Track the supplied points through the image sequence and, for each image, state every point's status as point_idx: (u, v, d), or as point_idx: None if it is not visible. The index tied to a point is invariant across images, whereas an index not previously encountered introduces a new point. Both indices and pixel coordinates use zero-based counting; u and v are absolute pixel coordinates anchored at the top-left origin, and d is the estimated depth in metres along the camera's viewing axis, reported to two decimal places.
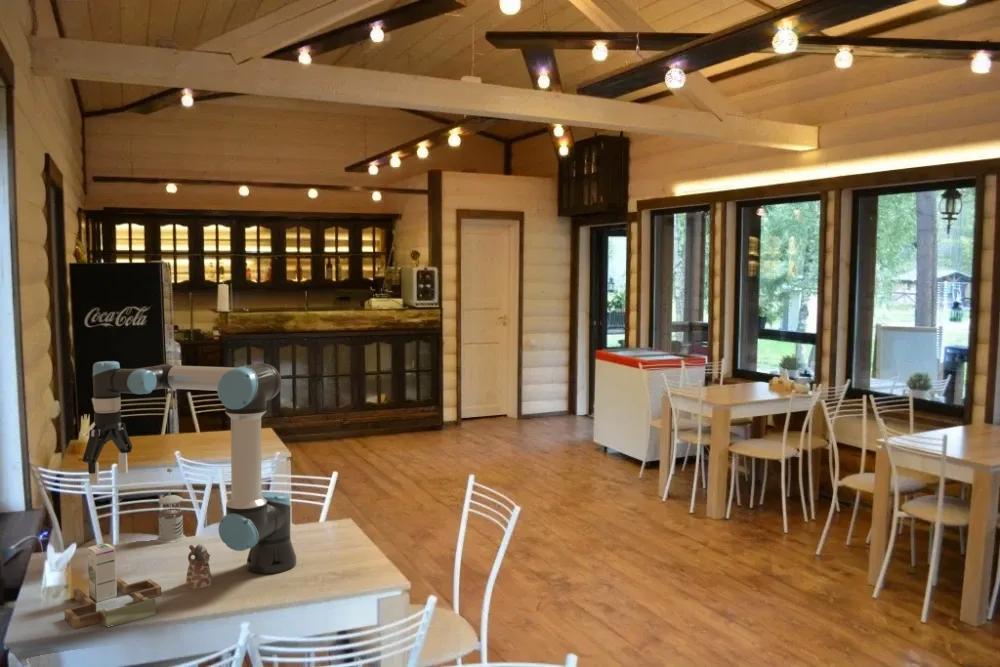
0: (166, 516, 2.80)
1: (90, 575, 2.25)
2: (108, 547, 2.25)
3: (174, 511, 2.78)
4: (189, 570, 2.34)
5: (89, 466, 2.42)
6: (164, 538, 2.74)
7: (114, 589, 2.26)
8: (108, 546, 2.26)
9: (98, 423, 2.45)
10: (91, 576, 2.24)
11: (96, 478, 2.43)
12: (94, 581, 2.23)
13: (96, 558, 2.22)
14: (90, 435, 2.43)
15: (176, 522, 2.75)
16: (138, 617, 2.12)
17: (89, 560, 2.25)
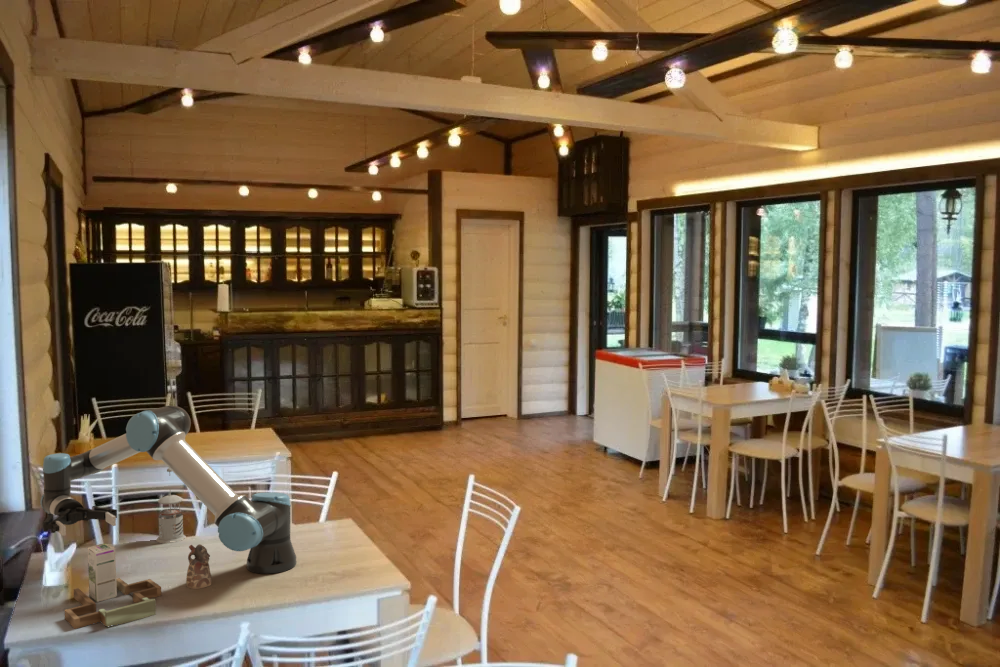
0: (166, 516, 2.80)
1: (90, 575, 2.25)
2: (108, 547, 2.25)
3: (174, 511, 2.78)
4: (189, 570, 2.34)
5: (52, 528, 2.30)
6: (164, 538, 2.74)
7: (114, 589, 2.26)
8: (108, 546, 2.26)
9: None
10: (91, 576, 2.24)
11: (61, 526, 2.28)
12: (94, 581, 2.23)
13: (96, 558, 2.22)
14: None
15: (176, 522, 2.75)
16: (138, 617, 2.12)
17: (89, 560, 2.25)
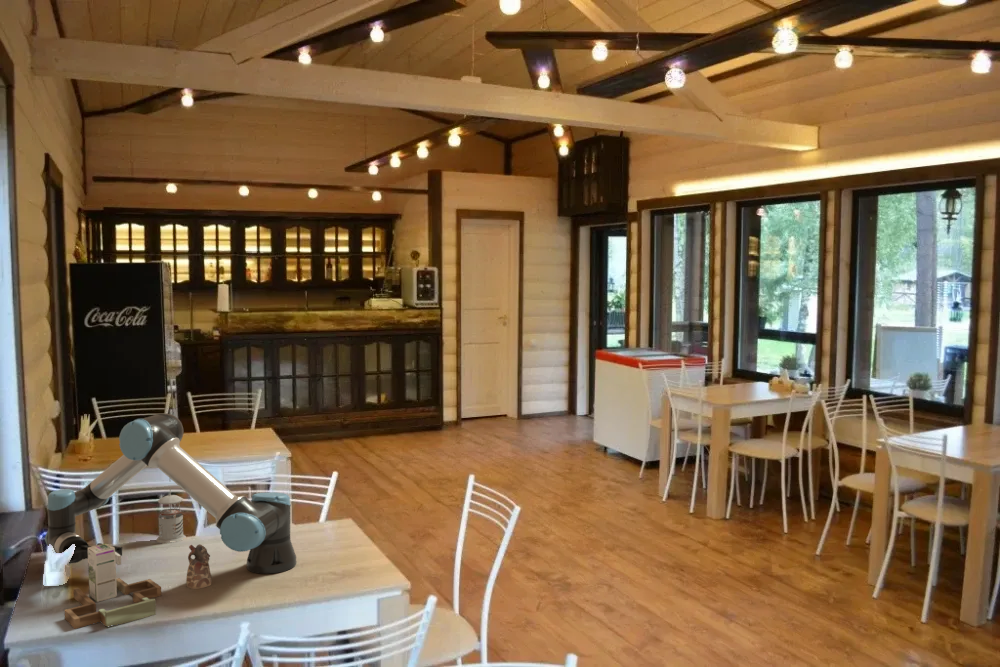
0: (166, 516, 2.80)
1: (90, 575, 2.25)
2: (108, 547, 2.25)
3: (174, 511, 2.78)
4: (189, 570, 2.34)
5: None
6: (164, 538, 2.74)
7: (114, 589, 2.26)
8: (108, 546, 2.26)
9: None
10: (91, 576, 2.24)
11: (65, 566, 2.25)
12: (94, 581, 2.23)
13: (96, 558, 2.22)
14: None
15: (176, 522, 2.75)
16: (138, 617, 2.12)
17: (89, 560, 2.25)
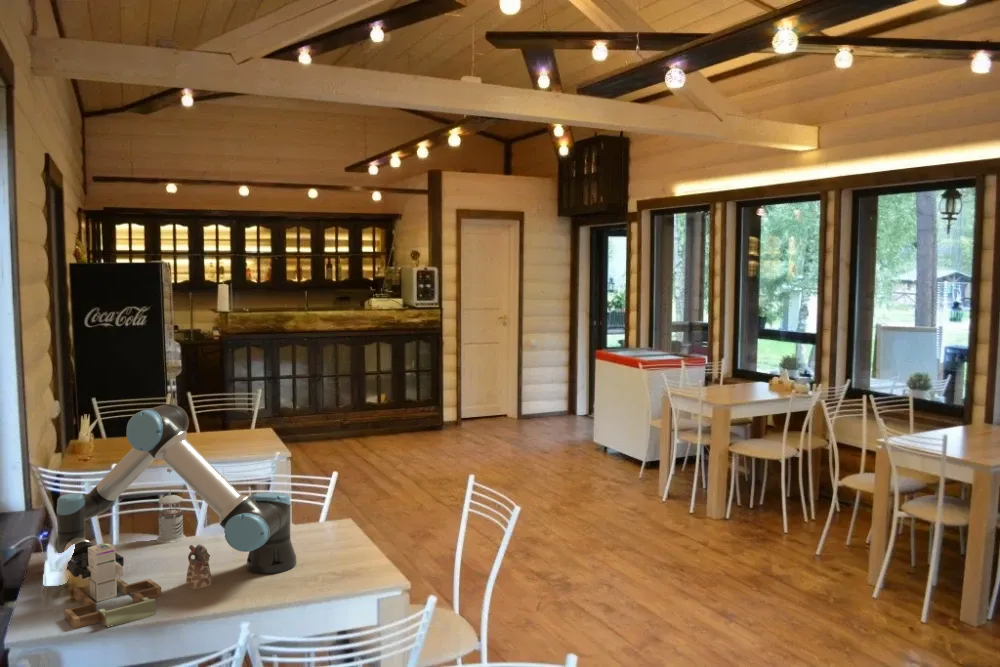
0: (166, 516, 2.80)
1: None
2: (108, 547, 2.25)
3: (174, 511, 2.78)
4: (189, 570, 2.34)
5: (83, 574, 2.23)
6: (164, 538, 2.74)
7: (114, 589, 2.26)
8: (108, 546, 2.26)
9: (71, 560, 2.34)
10: None
11: (92, 571, 2.21)
12: None
13: (96, 558, 2.22)
14: (67, 568, 2.29)
15: (176, 522, 2.75)
16: (138, 617, 2.12)
17: (89, 560, 2.25)
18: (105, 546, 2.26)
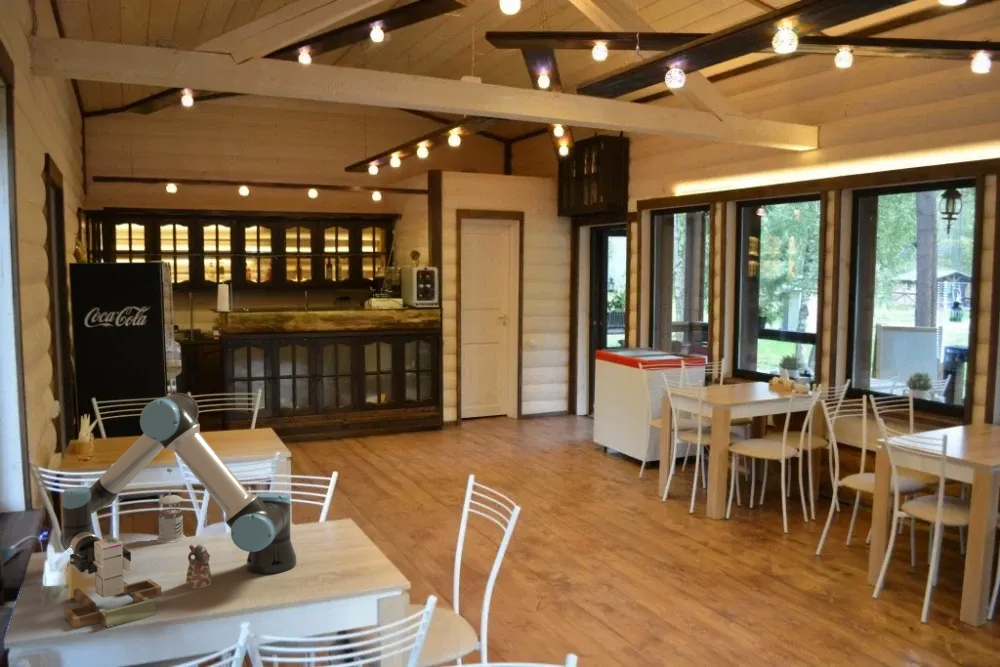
0: (166, 516, 2.80)
1: None
2: (115, 541, 2.19)
3: (174, 511, 2.78)
4: (189, 570, 2.34)
5: (90, 569, 2.16)
6: (164, 538, 2.74)
7: (121, 584, 2.19)
8: (115, 540, 2.19)
9: (77, 555, 2.27)
10: None
11: (99, 567, 2.14)
12: None
13: (103, 553, 2.15)
14: (72, 563, 2.22)
15: (176, 522, 2.75)
16: (138, 617, 2.12)
17: (96, 555, 2.18)
18: (112, 540, 2.19)
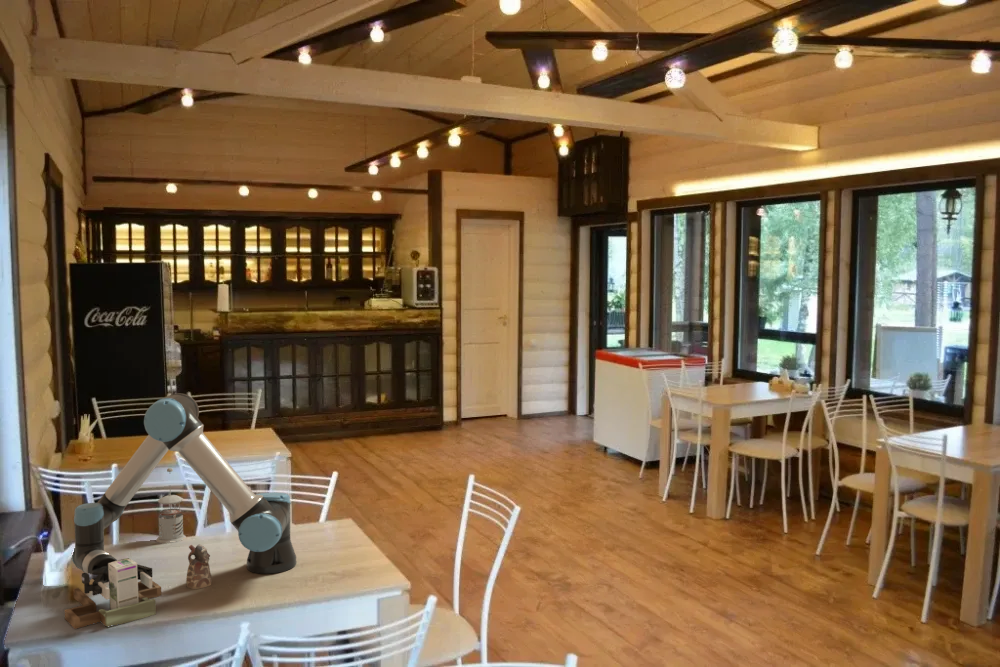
0: (166, 516, 2.80)
1: (111, 592, 2.13)
2: (130, 562, 2.13)
3: (174, 511, 2.78)
4: (189, 570, 2.34)
5: (94, 590, 2.10)
6: (164, 538, 2.74)
7: None
8: (130, 561, 2.14)
9: (91, 574, 2.22)
10: (112, 593, 2.12)
11: (104, 588, 2.08)
12: (115, 599, 2.11)
13: (117, 575, 2.10)
14: (83, 582, 2.17)
15: (176, 522, 2.75)
16: (138, 617, 2.12)
17: (110, 576, 2.12)
18: (126, 562, 2.14)
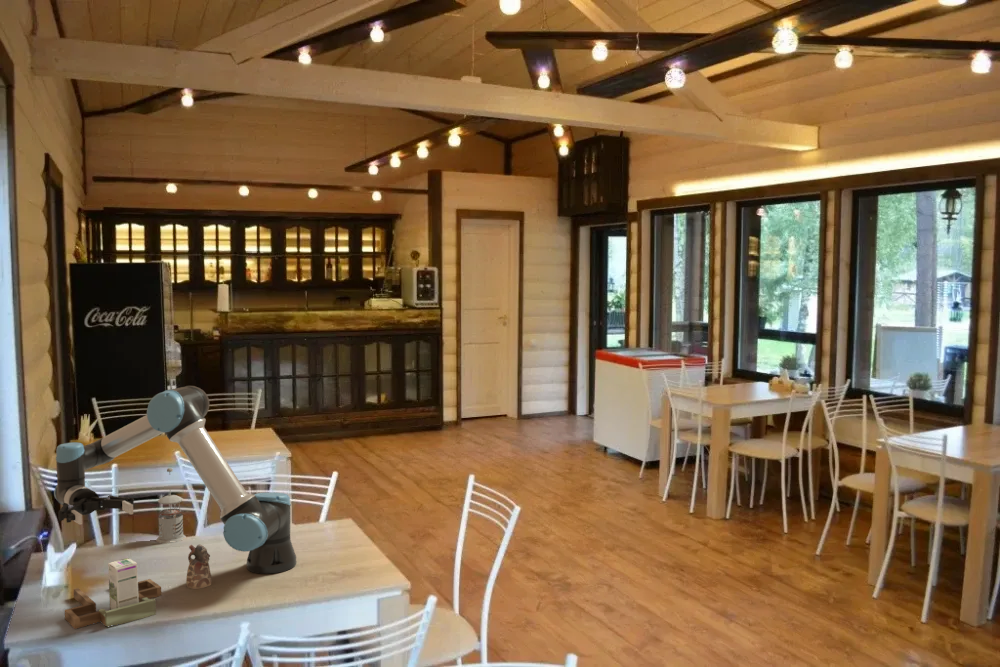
0: (166, 516, 2.80)
1: (111, 592, 2.13)
2: (130, 562, 2.13)
3: (174, 511, 2.78)
4: (189, 570, 2.34)
5: (68, 517, 2.22)
6: (164, 538, 2.74)
7: None
8: (130, 561, 2.14)
9: None
10: (112, 593, 2.12)
11: (77, 514, 2.20)
12: (115, 599, 2.11)
13: (117, 574, 2.10)
14: None
15: (176, 522, 2.75)
16: (138, 617, 2.12)
17: (110, 576, 2.12)
18: (126, 562, 2.14)
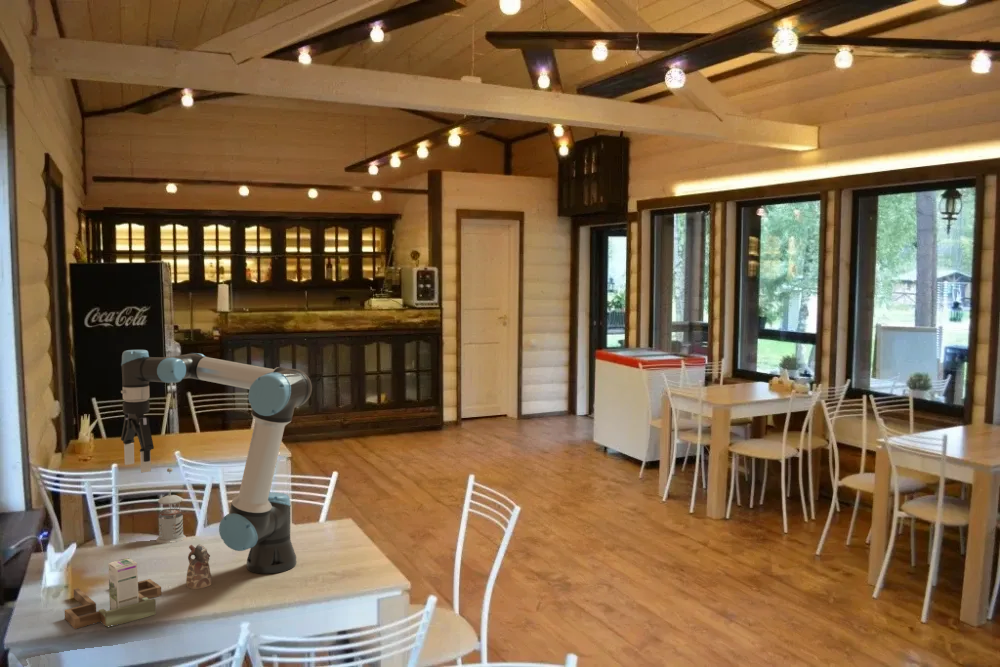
0: (166, 516, 2.80)
1: (111, 592, 2.13)
2: (130, 562, 2.13)
3: (174, 511, 2.78)
4: (189, 570, 2.34)
5: (146, 454, 2.41)
6: (164, 538, 2.74)
7: None
8: (130, 561, 2.14)
9: (139, 412, 2.43)
10: (112, 593, 2.12)
11: (149, 466, 2.43)
12: (115, 599, 2.11)
13: (117, 574, 2.10)
14: (142, 423, 2.41)
15: (176, 522, 2.75)
16: (138, 617, 2.12)
17: (110, 576, 2.12)
18: (126, 562, 2.14)
